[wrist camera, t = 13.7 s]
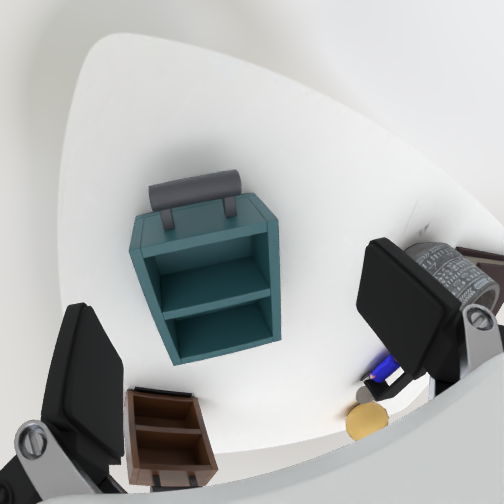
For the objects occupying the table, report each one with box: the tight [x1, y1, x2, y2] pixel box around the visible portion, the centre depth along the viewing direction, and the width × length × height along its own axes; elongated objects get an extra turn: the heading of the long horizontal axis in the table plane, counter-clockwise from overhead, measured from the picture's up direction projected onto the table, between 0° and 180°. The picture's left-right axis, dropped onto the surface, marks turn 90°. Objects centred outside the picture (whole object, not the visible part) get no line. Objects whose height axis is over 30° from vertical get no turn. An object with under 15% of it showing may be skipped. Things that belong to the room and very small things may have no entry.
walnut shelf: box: [123, 390, 218, 493], centre depth 28 cm, size 15×10×6 cm
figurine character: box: [356, 354, 413, 404], centre depth 44 cm, size 7×8×15 cm
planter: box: [404, 243, 500, 312], centre depth 31 cm, size 12×12×13 cm
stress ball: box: [346, 402, 389, 441], centre depth 52 cm, size 10×10×10 cm
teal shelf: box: [129, 170, 281, 366], centre depth 23 cm, size 15×10×6 cm, turn 5°
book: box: [455, 247, 504, 316], centre depth 44 cm, size 28×20×6 cm
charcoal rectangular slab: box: [134, 387, 192, 398], centre depth 35 cm, size 6×8×1 cm
